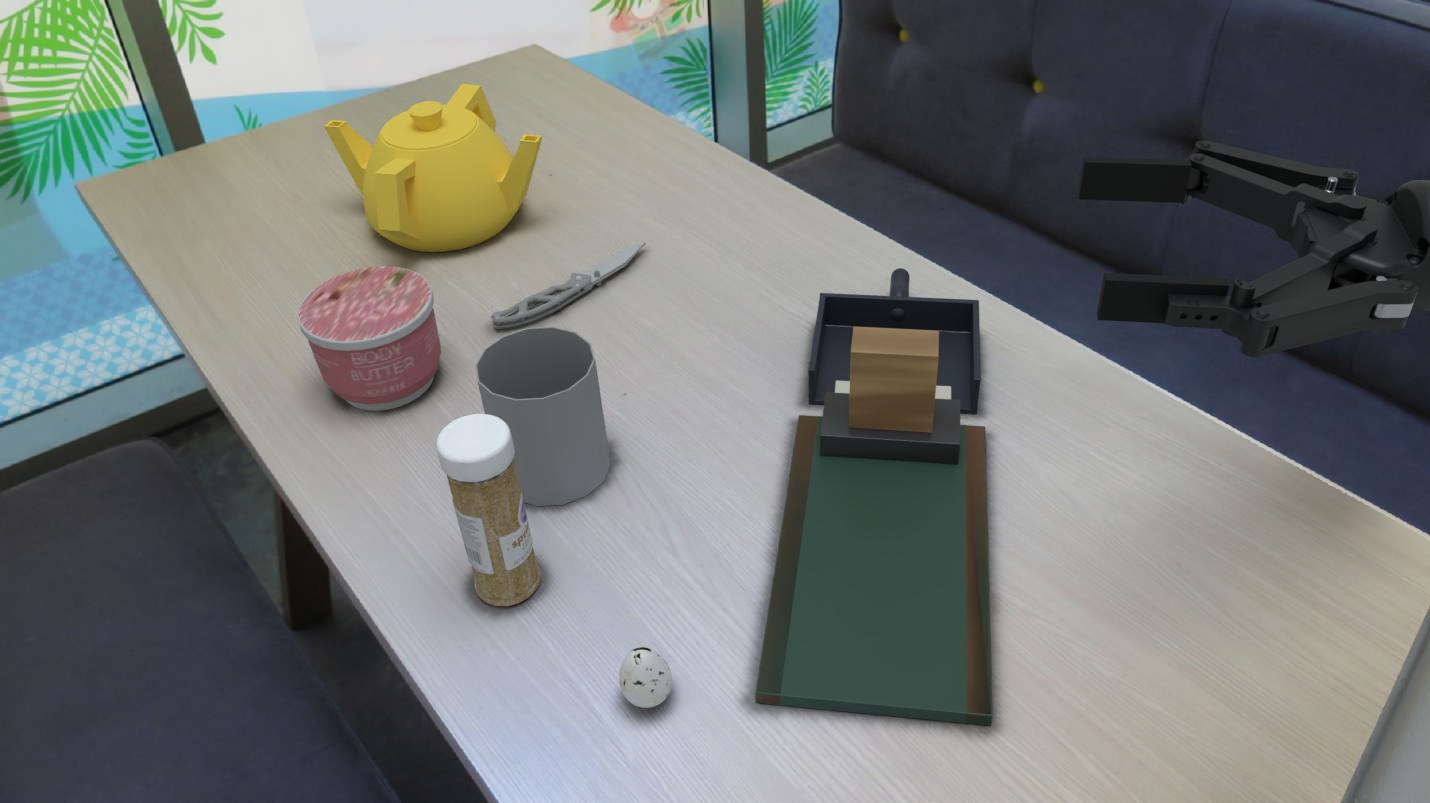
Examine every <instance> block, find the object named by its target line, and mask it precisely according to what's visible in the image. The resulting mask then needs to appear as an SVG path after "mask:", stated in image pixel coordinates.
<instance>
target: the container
mask: <svg viewBox="0 0 1430 803" xmlns="http://www.w3.org/2000/svg"><path fill="white" fill-rule="evenodd" d="M434 297H435V296H434V291H433V289H432V287H431V284H430V283H429V281H428V280H427V279H426V278H425V277H424V276H423V275H421V274H419V273H418V272H417V271H413V270H412V269H408V268H404V267H399V266H392V265H391V266H390V265H388V266H387V265H379V266H378V265H377V266H368V267H362V268H357V269H353V270H349V271H346V272H343V273H341V274H338V275H336V276H333V277H331V278H329V279H327V280H325V281H323V282H321V283H320V284H319V285H318V286H316V287H314V288H313V289H311V291H310V292H309V293H307V294H306V296H305V297H304V299H303V300H302V301H301V303H300V305H299V308H298V310H297V322H298V325H299V329H300V331H301V333H302V335H303V336H304V337H305V338H306V339H307V342H308V344H309V347H310V350H311V352H312V354H313V357H314V359H315V362H316V364H317V367H318V370H319V372H320V374H321V377H322V380H323V381H324V382H325V384H326V385H327V387H328V388H330V389H331V390H332V391H333V393H335V395H337V396H339V397H340V398H341V399H343V400H345V401H346V402H347V403H348V404H349V405H350V406H352V407H355V408H357V409H360V410H365V411H374V412H375V411H386V410H387V411H388V410H392V409H395V408H399V407H403V406H405V405H407V404H409V403H412V402H413V401H415V400H417V399H418V398H420V397H421V396H422V395H423V394H425V393H426V392H427V390H428V389H429V388H430V387H431V385H432V383H433V381H434V377H435V374H436V372H437V371H438V368H439V364H440V358H441V355H442V346H441V341H440V335H439V330H438V325H437V319H436V315H435V314H436V313H435V310H434V304H435V300H434V299H435V298H434Z"/></svg>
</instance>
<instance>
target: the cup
mask: <svg viewBox="0 0 1430 803" xmlns="http://www.w3.org/2000/svg"><path fill="white" fill-rule="evenodd" d="M592 346H593V345H592V343H591V342H589V341H588V340H587V339H586V338H584V337H583V336H582V335H581V334H579V333H578V332H577V331H573V330H570V329H565V328H560V327H557V326H541V327H526V328H524V329H520V330H517V331H515V332H511V333H508V334H504V335H502V336H501V337H500V338H498V339H497V340H495V341H493V343H491V344H489V345H488V346H486V347H485V348H484V349H483V350H482V352H481V354H480V356H479V357H478V359H477V361H476V363H475V364H474V367H475V374H476V382H477V385H478V386H477V387H478V390H479V394H480V398H481V404H482V408H483V413H484V414H489V415H493V416H496V417H498V418H500V419H502V420H503V421H504V422H505V423H506V424H507V425H508V427H509V429H510V432H511V436H512V440H513V445H514V451H515V453H514V458H513V459H514V464H515V469H516V474H517V477H518V482H519V486H520V491H521V493H522V496H523V501H524V504H529V505H532V506H535V507H548V506H549V507H550V506H564V505H567V504H569V503H571V502H575V501H577V500H579V499H582V498H585V497H587V496H588V495H590V494H591V493H592V492H594V490H596V489H597V488H598V487H599V486H600V485H601V484H603V483H604V482H605V479H606V477H607V475H608V471H609V470H610V467H611V463H612V462H611V458H610V457H611V456H610V449H609V442H608V437H607V430H606V423H605V417H604V409H603V402H602V396H601V389H600V383H599V377H598V375H599V374H598V369H597V361H596V356H595V353H594V350H593V347H592Z"/></svg>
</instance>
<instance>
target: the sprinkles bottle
mask: <svg viewBox="0 0 1430 803" xmlns="http://www.w3.org/2000/svg"><path fill="white" fill-rule="evenodd" d="M435 444H436V452H437V455H438V460H439V464H440V467H441V470H442V471H443V473H444V474H445V475H446V479H447V482H448V486H449V489H450V494H451V496H452V497H451V498H452V504H453V509H454V512H455V516H456V520H457V523H458V527H459V531H460V535H461V538H462V541H463V545H464V549H465V554H466V556H467V560H468V562H469V564H470V566H471V569H472V573H473V578H474V589H475V593H476V594H477V596H478V597H479V599H481V600H482V601H483V602H485V603H487V604H489V605H491V606H496V607H511V606H514V605H518V604H520V603H522V602H523V601H525V600H527V599H530V597H531V596H532V595H534V593H535V592H536V591H537V589H538V588H539V585H540V583H541V579H542V578H541V577H542V572H541V569H540V566H539V565H538V563H537V558H536V556H535V555H536V554H535V550H534V546H533V543H534V542H533V537H532V531H531V528H530V523H529V519H528V514H527V510H526V506H525V502H524V501H523V496H522V493H521V491H520V486H519V482H518V477H517V474H516V469H515V464H514V459H513V458H514V453H515V451H514V445H513V440H512V436H511V432H510V429H509V427H508V425H507V424H506V423H505V422H504V421H503V420H502V419H500V418H498V417H496V416H493V415H489V414H485V413H473V414H472V413H471V414H468V415H464V416H461V417H458V418H456V419H454V420H452V421H450V422H449V423H448V424H446V425H445V426H444V427H443V428H442V430H441V431H440V432H439V434H438V436H437V438H436V442H435Z"/></svg>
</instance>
